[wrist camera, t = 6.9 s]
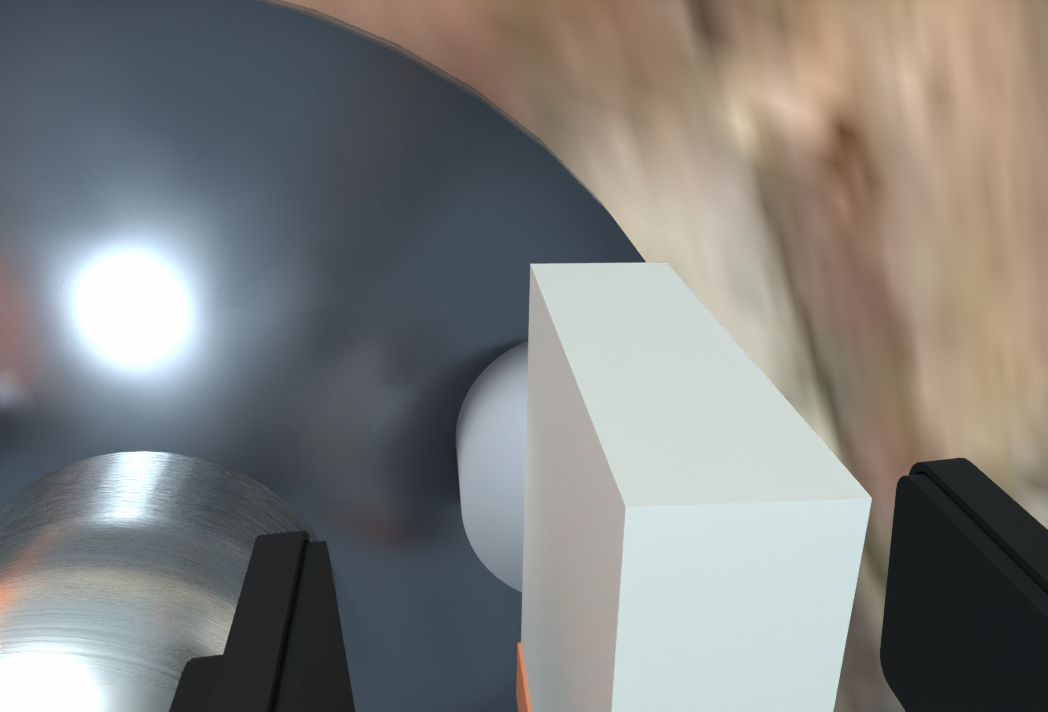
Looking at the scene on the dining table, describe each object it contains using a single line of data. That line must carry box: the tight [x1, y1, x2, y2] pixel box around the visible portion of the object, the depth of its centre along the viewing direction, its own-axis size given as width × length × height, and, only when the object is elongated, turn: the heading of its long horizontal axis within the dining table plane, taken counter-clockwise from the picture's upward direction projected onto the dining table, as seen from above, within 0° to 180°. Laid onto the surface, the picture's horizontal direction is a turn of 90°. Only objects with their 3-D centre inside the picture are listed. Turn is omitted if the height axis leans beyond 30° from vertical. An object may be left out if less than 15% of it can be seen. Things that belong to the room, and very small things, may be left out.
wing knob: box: [456, 262, 872, 712], centre depth 12 cm, size 7×4×8 cm, turn 179°
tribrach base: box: [0, 0, 646, 712], centre depth 14 cm, size 20×20×8 cm
